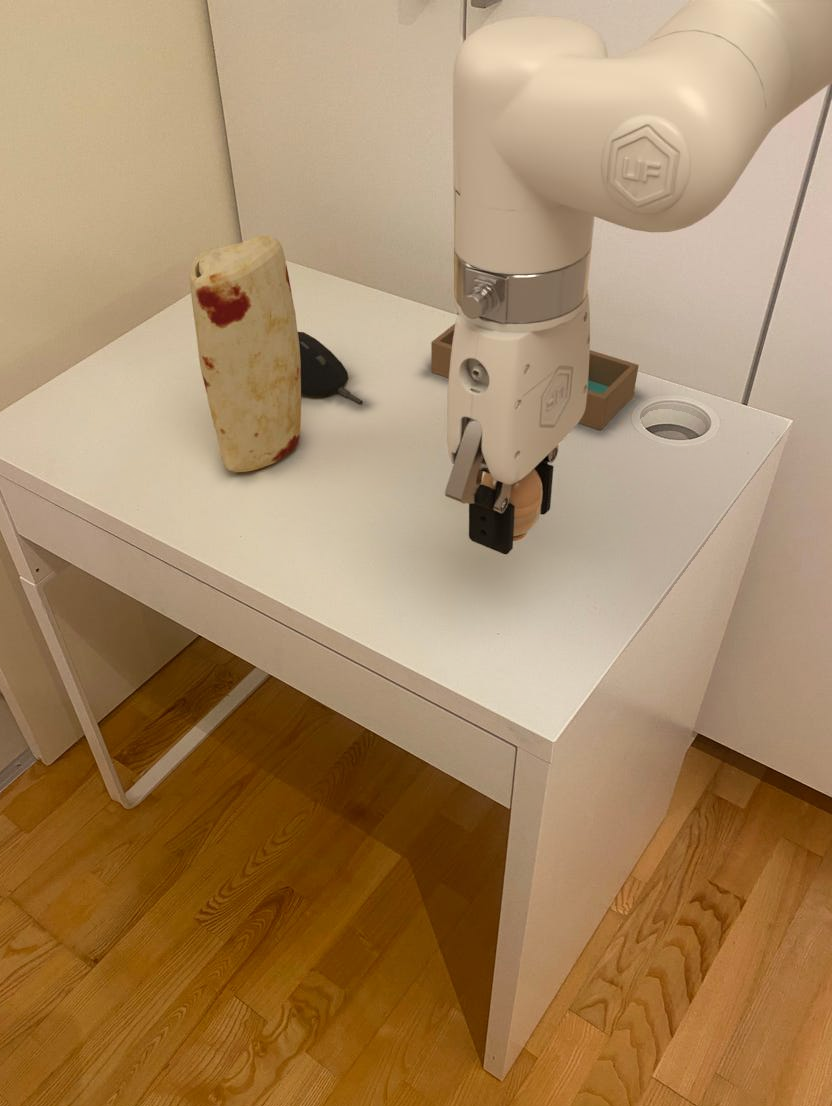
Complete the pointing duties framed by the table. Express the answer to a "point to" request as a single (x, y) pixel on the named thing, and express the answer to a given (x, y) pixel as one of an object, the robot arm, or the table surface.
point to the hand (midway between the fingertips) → (509, 523)
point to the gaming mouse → (321, 370)
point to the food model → (248, 350)
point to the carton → (605, 380)
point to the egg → (523, 501)
